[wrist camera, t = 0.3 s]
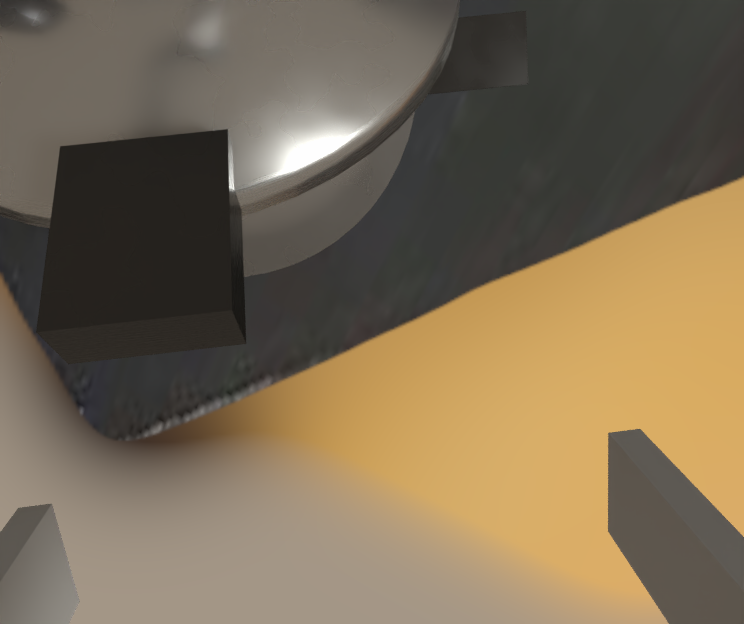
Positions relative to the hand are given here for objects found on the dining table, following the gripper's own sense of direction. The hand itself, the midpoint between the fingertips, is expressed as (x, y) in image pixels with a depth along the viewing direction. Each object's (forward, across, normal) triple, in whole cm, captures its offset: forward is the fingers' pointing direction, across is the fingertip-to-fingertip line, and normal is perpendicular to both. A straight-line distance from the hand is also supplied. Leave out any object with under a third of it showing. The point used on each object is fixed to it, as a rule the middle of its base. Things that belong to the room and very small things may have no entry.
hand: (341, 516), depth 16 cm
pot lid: (+9, -4, +12) cm, 15 cm away
